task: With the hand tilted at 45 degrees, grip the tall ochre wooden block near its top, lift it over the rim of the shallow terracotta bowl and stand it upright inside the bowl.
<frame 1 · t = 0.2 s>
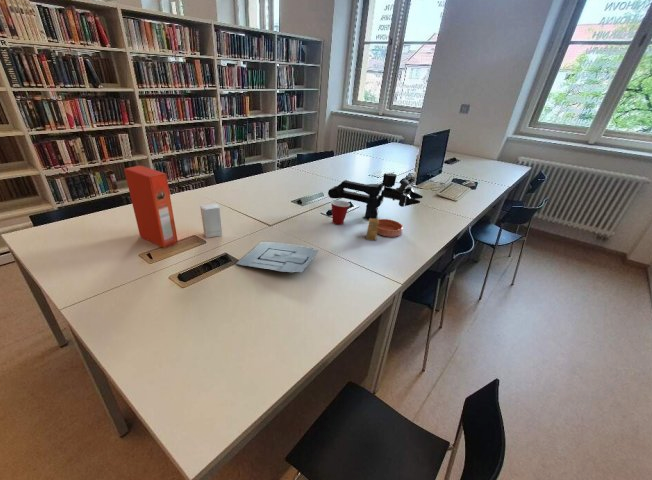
hand: (421, 199, 173), 17 cm above the table, tool horizontal, fingers open, 9 cm apart
plastic cup: (337, 223, 181), on the table
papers: (279, 261, 141), on the table
bowl: (386, 231, 175), on the table
ochre block: (370, 238, 166), on the table
file binder: (158, 239, 150), on the table
cosmetic box: (212, 235, 158), on the table
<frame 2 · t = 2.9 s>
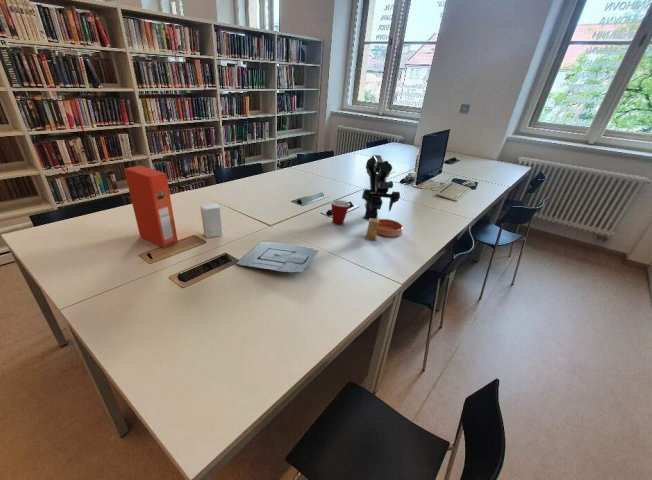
hand: (380, 210, 163), 14 cm above the table, tool tilted 50°, fingers open, 9 cm apart
nothing on the table moved.
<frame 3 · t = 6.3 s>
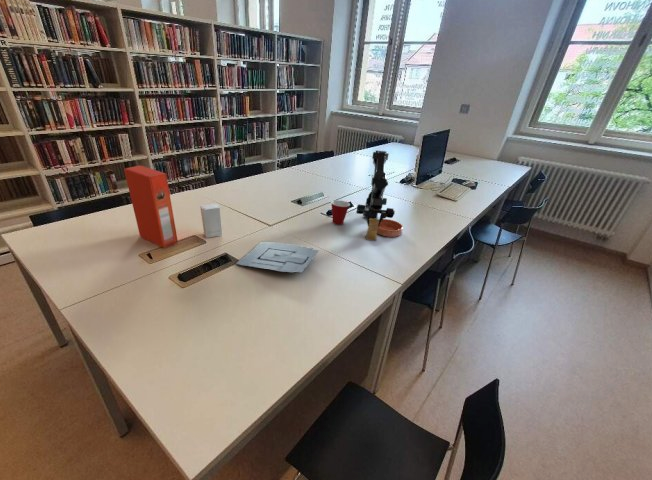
hand: (373, 226, 161), 7 cm above the table, tool tilted 45°, fingers closed on ochre block, 4 cm apart
ochre block: (370, 238, 166), on the table, touching gripper
everything else where it was.
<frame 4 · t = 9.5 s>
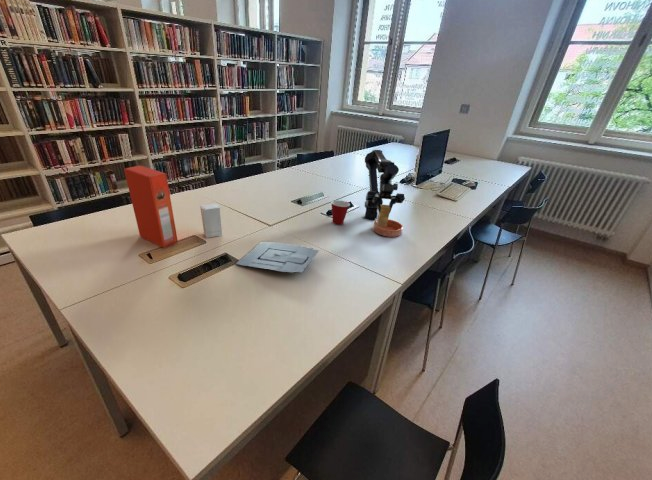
hand: (384, 212, 160), 14 cm above the table, tool tilted 45°, fingers closed on ochre block, 4 cm apart
ochre block: (381, 224, 165), point 7 cm above the table, touching gripper
everything else where it was.
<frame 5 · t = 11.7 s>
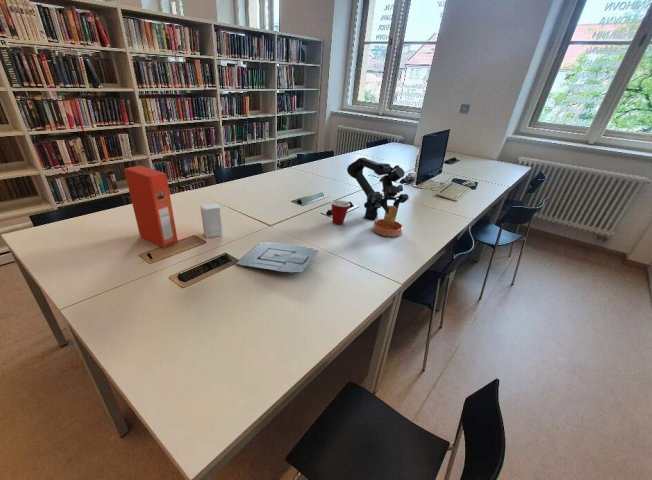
hand: (392, 213, 168), 11 cm above the table, tool tilted 45°, fingers closed on ochre block, 4 cm apart
ochre block: (388, 224, 173), point 4 cm above the table, touching gripper
everything else where it was.
when the fingers open (8 cm above the table, at t = 13.1 s): ochre block stays where it is, resting on bowl.
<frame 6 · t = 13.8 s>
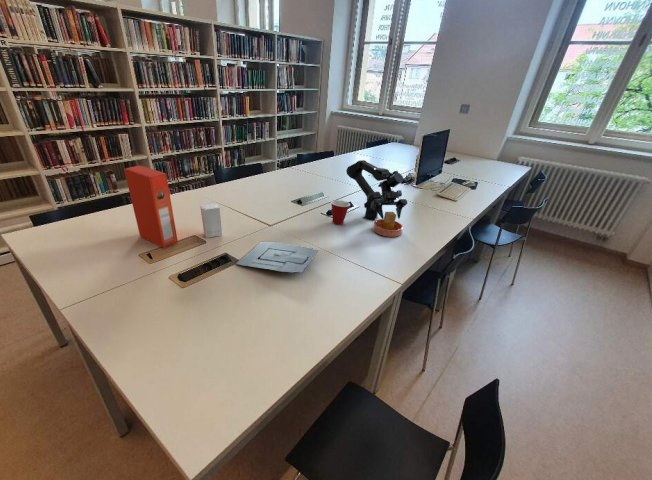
hand: (391, 218, 169), 8 cm above the table, tool tilted 45°, fingers open, 9 cm apart
ochre block: (387, 230, 174), point 1 cm above the table, touching bowl
everything else where it was.
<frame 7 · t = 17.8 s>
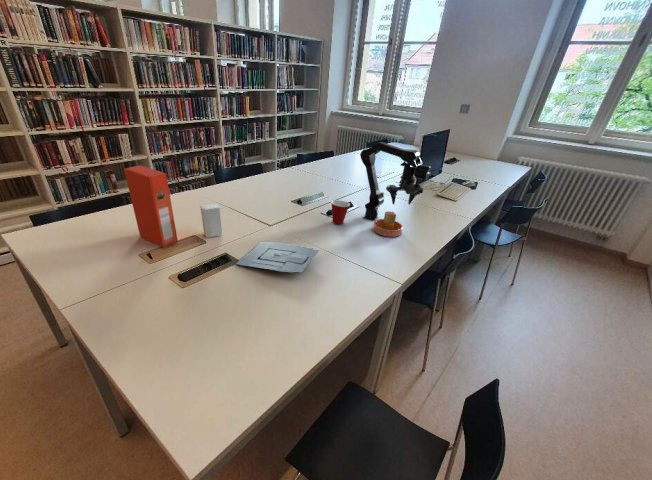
hand: (401, 204, 175), 13 cm above the table, tool pointing down, fingers open, 9 cm apart
nothing on the table moved.
at the end: ochre block inside the target area in the bowl (0.0 cm from its centre), point 0.5 cm above the bowl's base; ochre block tilted 0°; the gripper is holding nothing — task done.
